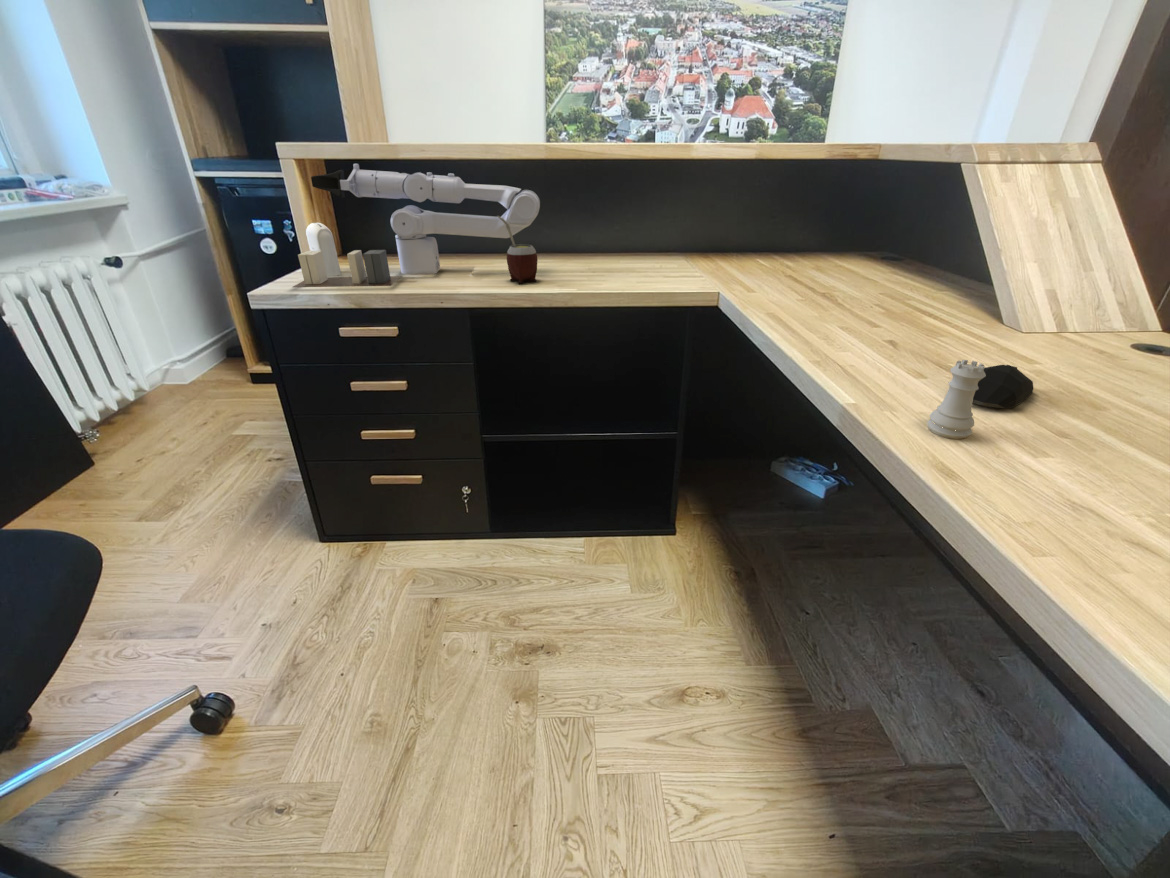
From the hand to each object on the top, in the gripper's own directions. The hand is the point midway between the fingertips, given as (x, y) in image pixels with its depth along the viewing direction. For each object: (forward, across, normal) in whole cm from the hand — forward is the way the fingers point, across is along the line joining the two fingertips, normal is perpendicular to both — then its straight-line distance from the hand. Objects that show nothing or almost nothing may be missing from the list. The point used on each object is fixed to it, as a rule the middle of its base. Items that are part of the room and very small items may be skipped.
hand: (318, 180), depth 128 cm
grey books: (-14, +11, +20) cm, 27 cm away
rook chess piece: (-100, +90, +14) cm, 135 cm away
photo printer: (+1, 0, +22) cm, 22 cm away
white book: (-10, +11, +20) cm, 25 cm away
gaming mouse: (-113, +80, +13) cm, 139 cm away
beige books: (0, +10, +21) cm, 23 cm away
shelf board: (-8, +11, +21) cm, 25 cm away
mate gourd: (-48, +10, +18) cm, 52 cm away
